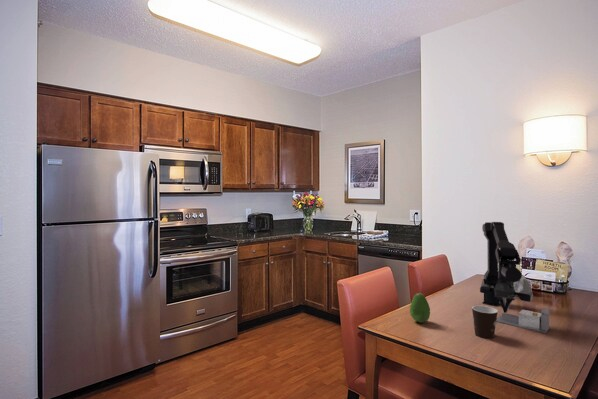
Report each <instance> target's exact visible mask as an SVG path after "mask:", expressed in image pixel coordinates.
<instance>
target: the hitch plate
mask: <svg viewBox="0 0 598 399" xmlns="http://www.w3.org/2000/svg"><path fill="white" fill-rule="evenodd" d="M540 313H542V314H541V321H540V330H537V329H533V328H528V327H524V326H520V325H519V315H515V314H510V313H508V312H507V313H504V312H502V313H501V315H499V316H497V320H496V323H499V324H505V325H509V326H513V327H517V328H520V327H521V328H520V329H524V330H530V331H533V332H538V333H542V334H547V333H548V331H549V330H550V327H551V326H550V310H549V309H548V308H546V307H543V308H542V309H541V310H540Z"/></svg>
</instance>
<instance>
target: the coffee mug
mask: <svg viewBox="0 0 598 399" xmlns="http://www.w3.org/2000/svg"><path fill="white" fill-rule="evenodd" d="M471 310H472V319H473V326H474V327H473V328H474V335H475V336H477V337H478V338H481V339H486V340H489V339H490V340H492V339H494V338H495V334H496V333H495V332H496V325H497V322H496V320H497V318H498V313H499V312H498V311H499V310H498V309H497V308H495V307H491V306H486V305H473V306H472V307H471Z"/></svg>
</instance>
